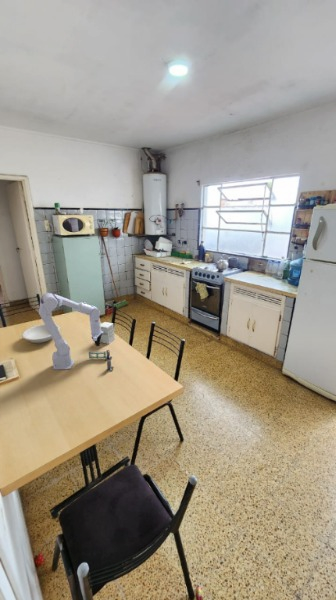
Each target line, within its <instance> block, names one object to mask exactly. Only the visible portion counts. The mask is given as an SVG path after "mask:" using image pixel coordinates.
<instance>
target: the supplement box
mask: <svg viewBox="0 0 336 600" xmlns="http://www.w3.org/2000/svg"><path fill="white" fill-rule="evenodd" d="M100 325H101V331H103V334H102V336H101V339H100V343H103V344H108V345H110V344H111V343H112V342H114V341H115V337H116V336H115V327H114V323H113V322H107V321H104V322H102V323H100Z"/></svg>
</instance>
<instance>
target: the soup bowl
mask: <svg viewBox="0 0 336 600" xmlns="http://www.w3.org/2000/svg"><path fill="white" fill-rule="evenodd" d="M55 325H56V327H57V329H58V331H59V332H60V330H61V327H60V326H59V325H58V324H56V323H55ZM21 337H22V338H23V340H26V341H29V342H30V343H36V344H39V343H42V344H43V343H46V342H49V341H50V340H53V338H52V336H51V335H50V333H49V331H48V329H47V327H46V326H45V324H44V323H42V324H36V325H34V326H31V327H29V328H27V329H26V330H24V331H22V334H21Z"/></svg>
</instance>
